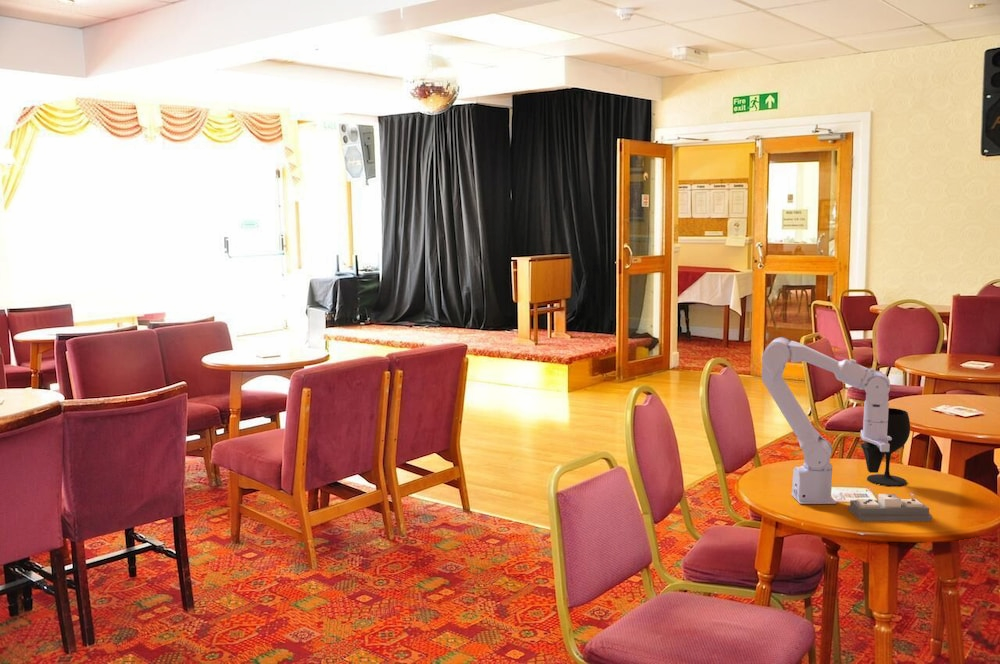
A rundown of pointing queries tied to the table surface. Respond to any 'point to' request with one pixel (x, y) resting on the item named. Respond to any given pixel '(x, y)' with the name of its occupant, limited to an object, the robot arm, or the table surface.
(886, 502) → the tile one
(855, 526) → the table surface
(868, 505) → the tile three
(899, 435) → the wine glass
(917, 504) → the tile two
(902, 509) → the tile board
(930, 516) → the pencil
